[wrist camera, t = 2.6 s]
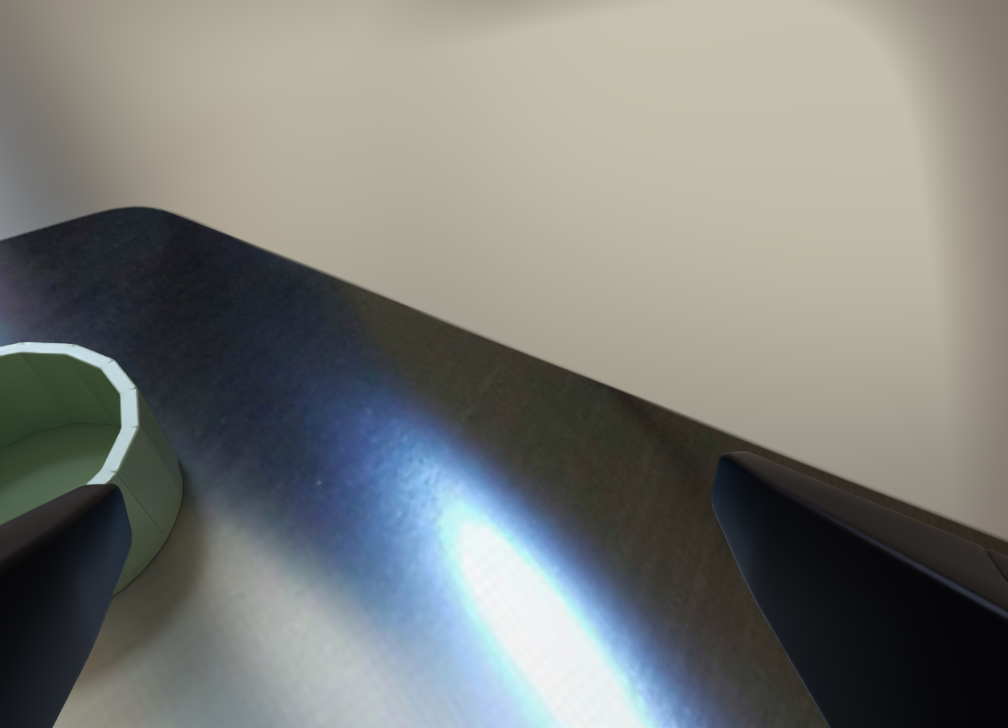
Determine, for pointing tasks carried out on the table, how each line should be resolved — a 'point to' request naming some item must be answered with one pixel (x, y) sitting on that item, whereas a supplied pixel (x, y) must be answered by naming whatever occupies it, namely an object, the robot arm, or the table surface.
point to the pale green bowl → (84, 441)
